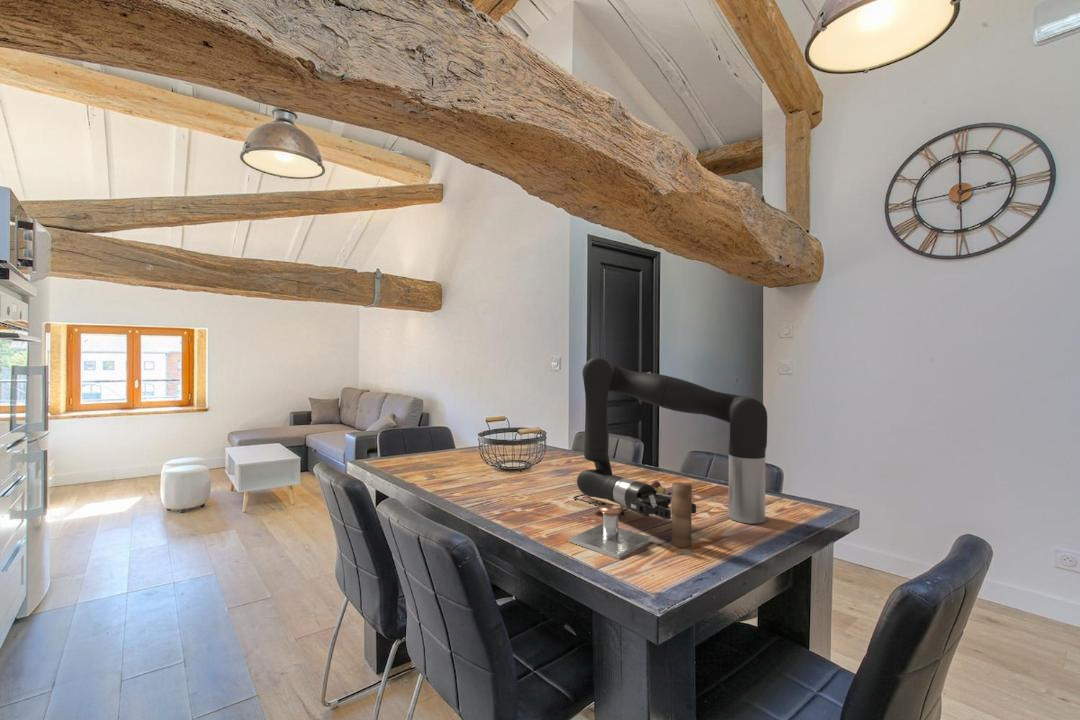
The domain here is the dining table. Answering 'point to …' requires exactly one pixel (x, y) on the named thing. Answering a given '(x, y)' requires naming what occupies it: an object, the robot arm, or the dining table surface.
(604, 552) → the steel post
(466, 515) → the dining table surface
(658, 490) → the olive strapped bedroll
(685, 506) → the walnut dowel
